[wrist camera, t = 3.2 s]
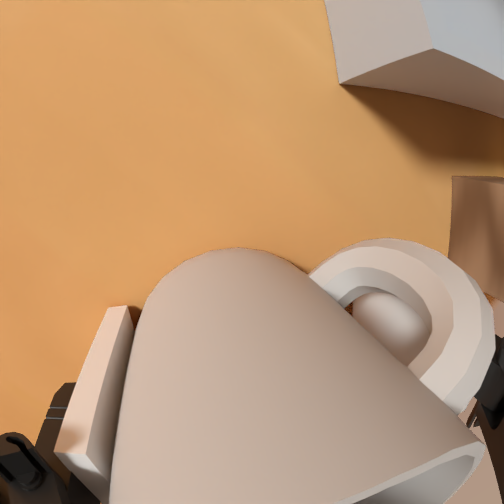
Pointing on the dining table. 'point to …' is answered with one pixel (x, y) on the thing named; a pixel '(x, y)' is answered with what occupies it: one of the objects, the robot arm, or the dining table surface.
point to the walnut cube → (479, 230)
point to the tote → (423, 48)
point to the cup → (300, 383)
